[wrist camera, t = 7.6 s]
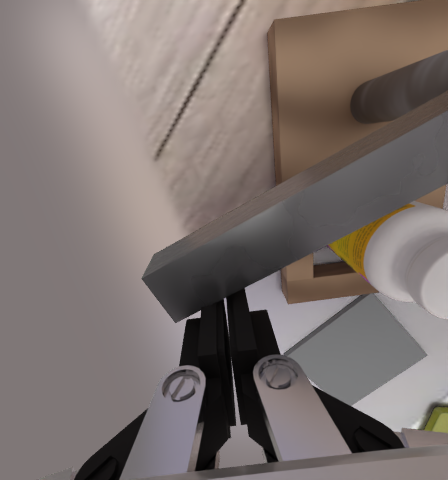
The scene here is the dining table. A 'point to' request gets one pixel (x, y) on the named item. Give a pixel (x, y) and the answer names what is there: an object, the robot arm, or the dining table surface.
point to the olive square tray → (438, 420)
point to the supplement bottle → (403, 255)
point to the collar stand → (348, 101)
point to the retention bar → (305, 212)
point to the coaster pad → (356, 350)
